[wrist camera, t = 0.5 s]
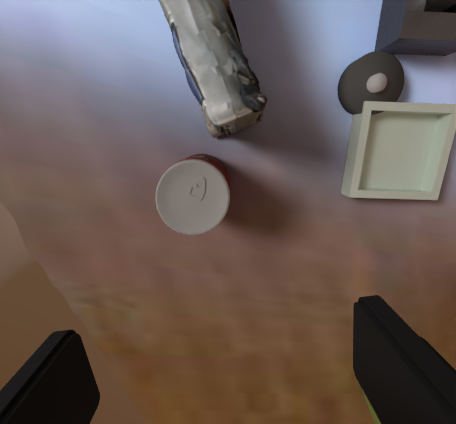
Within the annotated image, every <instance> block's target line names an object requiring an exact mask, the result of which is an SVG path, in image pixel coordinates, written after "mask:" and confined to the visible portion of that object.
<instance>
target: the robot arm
mask: <svg viewBox="0 0 456 424" xmlns="http://www.w3.org/2000/svg"><path fill="white" fill-rule="evenodd" d="M353 368H354V373H355V376H356V378H357V380H358V382H359V384H360V386H361V387H362V389H363V391H364V393H365V395H366V397H367V399H368V400H369V402H370V404H371V406H372V408H373V410H374V411H375V413H376V415H377V417H378V419H379V421H380V422H381V424H456V370H455V369H454V368H453V367H452V366H451V365H450V364H449V363H448V362H447V361H446V360H445V359H444V358H443V357H442V356H441V355H440V354H439V353H438V352H437V351H436V350H435V349H434V348H433V347H432V346H431V345H430V344H429V343H428V342H427V341H426V340H424V339H423V338H422V337H420V336H418V335H417V334H416V333H415V332H414V331H413V330H412V329H411V328H410V327H409V326H408V325H407V324H406V323H405V322H404V321H403V319H402V318H401V317H400V316H399V315H398V314H397V313H396V312H395V311H394V310H393V309H392V308H391V307H390V306H389V305H388V304H387V303H386V302H385V301H384V300H383V299H382V298H381V297H380V296H378V295H375V296H366V297H360V298H359V300H358V302H355V303H354V323H353ZM99 400H100V393H99V390H98V387H97V384H96V381H95V378H94V375H93V372H92V369H91V366H90V363H89V360H88V357H87V355H86V351H85V348H84V346H83V343H82V340H81V337H80V335H79V334H76V332H75V331H74V330H66V331H56V332H54V333H52V334H51V335H50V336H49V337H48V338H47V339H46V340H45V341H44V343H43V344H42V345H41V346H40V347H39V348H38V349H37V350H36V351H35V353H34V354H33V355H32V356H31V357H30V358H29V359H28V360H27V362H26V363H25V364H24V365H23V366H22V367H21V368H20V370H19V371H18V372H17V373H16V374H15V375H14V376H13V377H12V378H11V380H10V381H9V382H8V383H7V384H6V385H5V386H4V387H3V388H2V390H1V391H0V424H90V421H91V419H92V417H93V415H94V413H95V411H96V409H97V407H98V404H99Z"/></svg>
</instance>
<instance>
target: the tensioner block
mask: <svg viewBox="0 0 456 424" xmlns="http://www.w3.org/2000/svg"><path fill="white" fill-rule="evenodd" d="M425 4H426V0H383V3H382V9H381V15H380V21H379V28H378V34H377V40H376V46H375V51H383V52H388V53H390V54H411V55H436V56H446V55H449V54H451V53H454V52H456V4H455V5H453V6H451V7H450V8H448V9H446V10H445V11H443V12H424V9H425Z"/></svg>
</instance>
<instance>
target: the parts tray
mask: <svg viewBox="0 0 456 424" xmlns="http://www.w3.org/2000/svg"><path fill="white" fill-rule="evenodd" d="M372 110H373V111H384V112H381V113H378V114H374V115H371V112H372ZM455 131H456V104H431V103H404V102H377V101H364V104H363V110H362V113H360V114H355V115H353V118H352V124H351V131H350V137H349V144H348V150H347V157H346V163H345V170H344V176H343V183H342V189H341V194H343V195H345V196H348V197H352V198H385V199H417V200H438V197H439V193H440V189H441V185H442V181H443V177H444V174H445V170H446V166H447V162H448V158H449V154H450V150H451V146H452V143H453V139H454V135H455Z"/></svg>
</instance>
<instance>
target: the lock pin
mask: <svg viewBox="0 0 456 424" xmlns="http://www.w3.org/2000/svg"><path fill="white" fill-rule="evenodd" d="M455 4H456V0H426V4H425V9H424V12H443V11H445V10H446V9H448V8H450V7H451V6H453V5H455Z"/></svg>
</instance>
